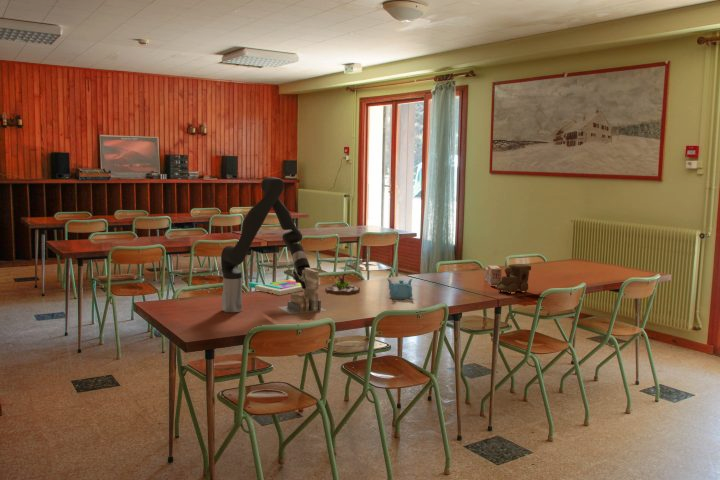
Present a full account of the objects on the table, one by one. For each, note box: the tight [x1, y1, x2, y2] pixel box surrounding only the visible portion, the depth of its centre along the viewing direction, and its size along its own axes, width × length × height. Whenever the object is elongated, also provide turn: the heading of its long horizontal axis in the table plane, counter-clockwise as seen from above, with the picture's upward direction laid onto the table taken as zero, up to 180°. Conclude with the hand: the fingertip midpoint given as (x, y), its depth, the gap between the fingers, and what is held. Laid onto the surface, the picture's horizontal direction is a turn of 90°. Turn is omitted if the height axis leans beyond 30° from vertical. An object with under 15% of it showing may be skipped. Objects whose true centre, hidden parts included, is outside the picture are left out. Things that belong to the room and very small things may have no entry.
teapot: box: [386, 278, 414, 300], centre depth 376 cm, size 15×15×10 cm
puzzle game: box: [248, 278, 304, 296], centre depth 394 cm, size 30×3×30 cm
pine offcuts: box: [290, 292, 309, 312], centre depth 335 cm, size 5×12×7 cm, turn 29°
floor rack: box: [278, 298, 326, 315], centre depth 336 cm, size 20×16×6 cm
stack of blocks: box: [483, 264, 502, 285], centre depth 425 cm, size 21×6×12 cm, turn 1°
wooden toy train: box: [496, 263, 532, 293], centre depth 400 cm, size 20×11×17 cm, turn 125°
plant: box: [324, 273, 361, 296], centre depth 389 cm, size 20×20×11 cm
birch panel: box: [303, 267, 320, 310], centre depth 337 cm, size 2×12×20 cm, turn 29°
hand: (309, 287), depth 339 cm, fingers open, 5 cm apart
